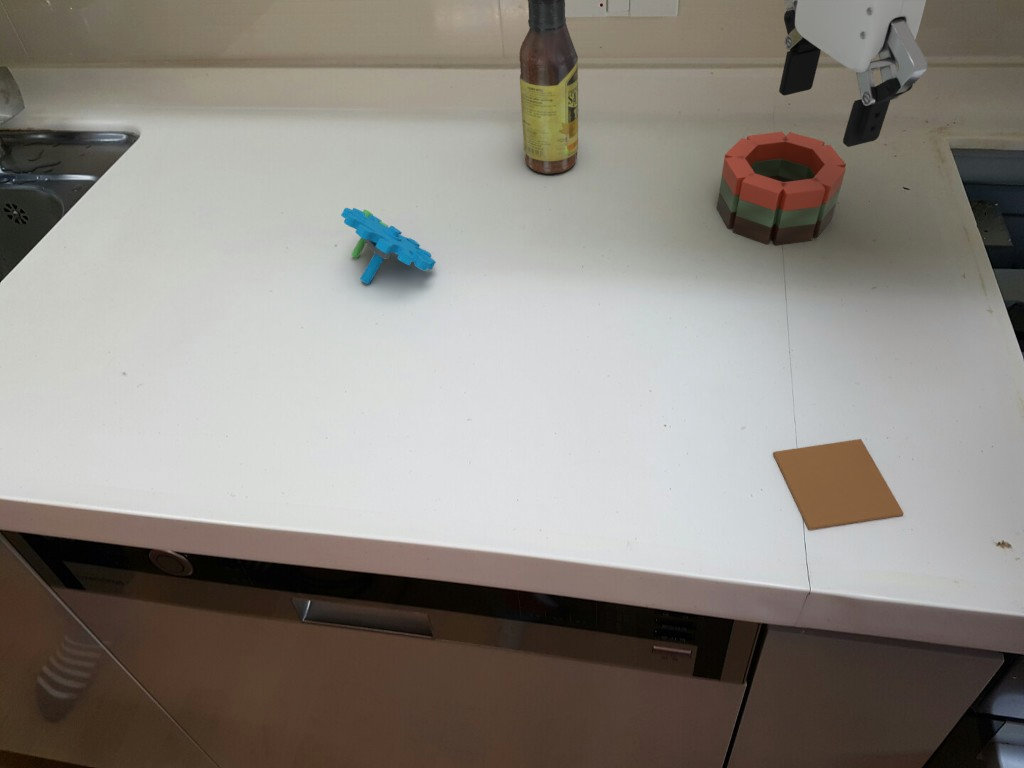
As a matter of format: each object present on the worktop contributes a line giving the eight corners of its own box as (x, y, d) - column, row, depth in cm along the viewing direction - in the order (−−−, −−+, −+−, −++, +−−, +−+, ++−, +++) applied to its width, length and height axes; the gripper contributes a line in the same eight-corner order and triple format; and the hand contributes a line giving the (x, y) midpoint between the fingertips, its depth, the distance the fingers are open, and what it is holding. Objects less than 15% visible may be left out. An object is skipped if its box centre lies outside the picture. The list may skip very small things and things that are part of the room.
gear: (454, 270, 76) (368, 229, 69) (422, 321, 77) (335, 285, 71) (412, 226, 84) (332, 185, 77) (385, 273, 85) (303, 237, 79)
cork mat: (860, 441, 61) (861, 438, 61) (902, 515, 56) (904, 513, 56) (772, 454, 61) (773, 451, 61) (808, 530, 56) (809, 528, 56)
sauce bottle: (581, 174, 89) (583, -9, 75) (526, 179, 89) (517, -4, 75) (574, 144, 94) (574, -34, 79) (522, 149, 94) (512, -29, 79)
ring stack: (803, 177, 86) (811, 144, 83) (846, 236, 79) (856, 202, 76) (706, 189, 86) (710, 157, 83) (739, 250, 78) (746, 216, 75)
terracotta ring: (811, 144, 83) (815, 126, 82) (856, 202, 76) (862, 184, 74) (710, 157, 83) (713, 139, 81) (746, 216, 75) (749, 198, 74)
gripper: (1012, -74, 53) (926, 154, 65) (853, -139, 64) (806, 66, 76) (918, -54, 51) (848, 174, 64) (772, -124, 62) (738, 82, 75)
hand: (825, 115), depth 70 cm, fingers open, 9 cm apart
